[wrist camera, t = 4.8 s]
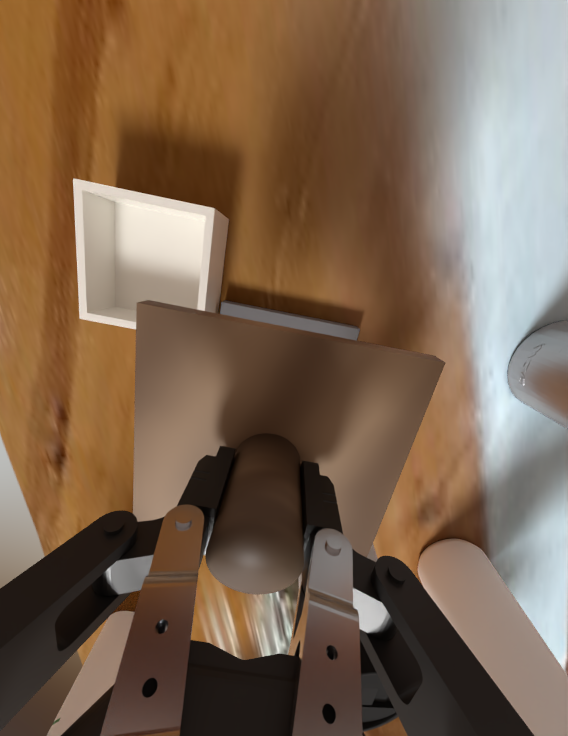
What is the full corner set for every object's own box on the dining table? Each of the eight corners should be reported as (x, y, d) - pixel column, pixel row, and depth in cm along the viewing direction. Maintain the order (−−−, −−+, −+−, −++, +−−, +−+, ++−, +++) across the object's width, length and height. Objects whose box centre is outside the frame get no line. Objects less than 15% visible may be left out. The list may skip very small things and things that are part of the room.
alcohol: (496, 560, 38) (1093, 1413, 10) (441, 591, 40) (796, 1359, 12) (456, 524, 36) (1051, 1453, 8) (401, 560, 38) (709, 1380, 10)
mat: (356, 326, 28) (360, 329, 27) (331, 415, 31) (333, 422, 30) (225, 300, 28) (221, 302, 26) (213, 393, 31) (210, 399, 29)
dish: (229, 219, 25) (214, 208, 20) (216, 329, 28) (201, 341, 24) (114, 195, 25) (73, 178, 20) (115, 309, 28) (79, 318, 23)
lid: (434, 355, 13) (543, 423, 7) (356, 557, 17) (387, 698, 12) (148, 299, 13) (29, 327, 7) (141, 521, 17) (65, 650, 11)
